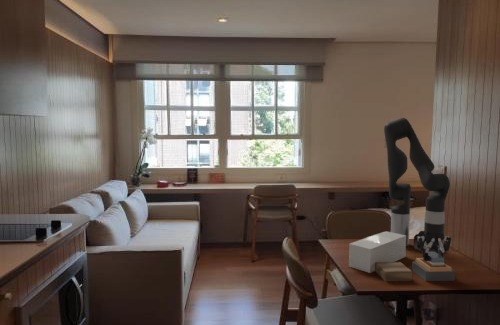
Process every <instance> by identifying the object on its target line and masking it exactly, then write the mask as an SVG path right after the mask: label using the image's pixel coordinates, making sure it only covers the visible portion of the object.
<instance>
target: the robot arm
mask: <svg viewBox="0 0 500 325" xmlns="http://www.w3.org/2000/svg"><path fill="white" fill-rule="evenodd" d="M383 131H384V132H383V133H384V139H385V143H386V153H387V156H386V157H387V169H388V195H389V199H390V200H392V201H403V202H402V203H401V204H397V205H393V206H392V207H391V208H390V209H391V210H390V211H391V212H390V214H391V215H390V232H392V233H397V234H401V235H406V243H405V244H406V247H409V246H410V220H411V218H410V216H411V214H410V213H411V212H410V210H411V196H412V195H411V194H412V186H411V184H409V183H402V182H398V181H399V180H400V178H401V177H402V176H403V175H404V174H406V172H407V170H408V157H407V154H406V153H405V152H404V151H403V150H402V149H400V148H399V147H398V146H397V141H399V140H401V139H405V138H407V140H408V142H409V145H410V146H409V153H408V154H409V160H410V162H411V163H412V166H414V168H415V170H416V171H417V173H418V177H419V179H420V184H421V185H422V187H423V188H424V189H425V190H426V191H429V192H432V194H431V195H428V196H427V197H426V199H425V211H424V212H425V213H424V226H423V228H424V229H423V231H424V232H425V233H424V235H423V236H421V237H419V236H417V243H418V249H419V250H421V251H423V252H422V258H423V259H424V260H425V261H428V251H429V249H430V248H431V246H434V245H436V246H437V247H438V249H439V251H438V252H437V254H439V255H441V256H442V257H444V255H445V252H448V251H450V246H451V243H452V242H451V241H452V237H450V236H449V235H445V224H446V223H445V221H446V220H445V218H446V215H445V204H446V202H445V201H446V199H447V196H448V193H449V190H450V185H451V184H450V182H451V181H450V178H449V177H448V175H447V174H445V173H433V171H434V169H435V164H434V162H433V161H432V159H431V158H430V157H429V155H428V154H427V153H426V150H424V148H423V147H422V144H421V142H420V139H419V138H418V136H417V134H416V132H415V130H414V128H413V126H412V124H411V123H410V122H409V120H408V119H407V118H405V117H400V118H397V119H395V120H392V121H389V122H386V123H385V124H384V127H383ZM424 239H425V243H424V247H423V241H424ZM419 250H418V251H419ZM421 251H420V252H421ZM444 258H445V257H444Z"/></svg>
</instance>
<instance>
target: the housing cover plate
mask: <svg viewBox="0 0 500 325" xmlns="http://www.w3.org/2000/svg"><path fill="white" fill-rule="evenodd" d="M428 260H429V261H430V262H432V263H440V262H444V263H445V257H442V256H441V255H439V254H438V252H428Z"/></svg>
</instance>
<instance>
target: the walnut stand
mask: <svg viewBox="0 0 500 325" xmlns="http://www.w3.org/2000/svg"><path fill="white" fill-rule="evenodd" d="M374 272H375V273H376V274H378V276H379V277H380V278H381V279H382V280H383V281H384V282H412V281H413V271H412V269H410V268H409V267H407V266H406V265H405V264H404V263H402V262H401V261H395V262H375V271H374Z"/></svg>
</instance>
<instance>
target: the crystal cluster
mask: <svg viewBox="0 0 500 325" xmlns="http://www.w3.org/2000/svg"><path fill="white" fill-rule="evenodd" d="M424 233H425V232H424V230H420V231H419V232H418V233H416V234H415V235H413V236H414V237H413V246H414V249H415V250H417V251H419V252H422V253H423V251H421V250H419V249H418V243H417V236H419V237H421V236H423V235H424ZM424 243H425V239H424V241H423V247H424ZM438 251H439V249H438V247H437V246H436V245H434V246H431V248H430V249H429V251H428V252H436V253H438Z"/></svg>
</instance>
